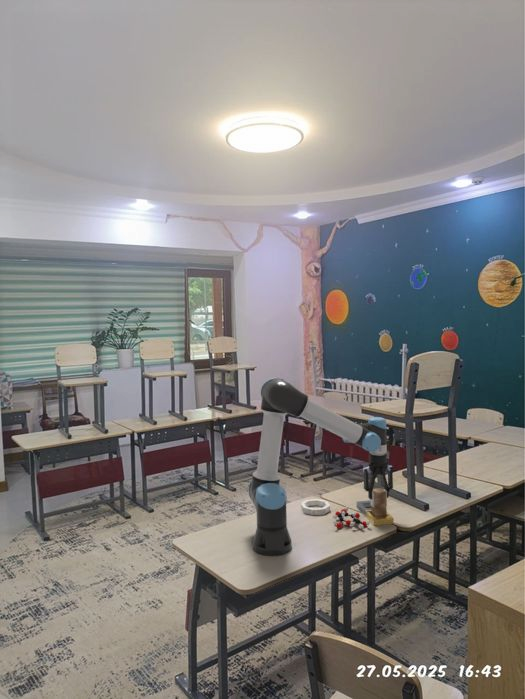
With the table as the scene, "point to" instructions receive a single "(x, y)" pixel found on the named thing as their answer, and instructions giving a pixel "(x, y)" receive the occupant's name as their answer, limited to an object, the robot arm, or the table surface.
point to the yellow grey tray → (366, 510)
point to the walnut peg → (379, 503)
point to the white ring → (317, 510)
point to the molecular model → (348, 522)
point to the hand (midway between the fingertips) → (378, 505)
